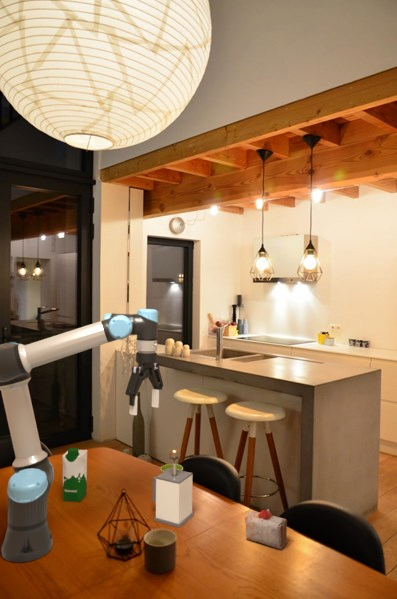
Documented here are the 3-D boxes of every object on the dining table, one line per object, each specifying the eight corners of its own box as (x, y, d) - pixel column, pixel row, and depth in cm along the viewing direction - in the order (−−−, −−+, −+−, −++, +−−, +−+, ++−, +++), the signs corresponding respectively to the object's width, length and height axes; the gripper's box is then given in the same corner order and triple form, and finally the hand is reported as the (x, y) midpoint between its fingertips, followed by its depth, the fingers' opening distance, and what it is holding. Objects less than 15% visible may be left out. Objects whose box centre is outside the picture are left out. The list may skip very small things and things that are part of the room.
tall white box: (179, 527, 159) (179, 482, 159) (145, 518, 166) (145, 475, 166) (193, 515, 169) (193, 472, 168) (161, 506, 175) (161, 465, 175)
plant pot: (180, 494, 186) (180, 472, 186) (157, 492, 188) (158, 471, 188) (184, 484, 195) (184, 464, 195) (163, 483, 197) (163, 463, 197)
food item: (241, 540, 152) (241, 510, 152) (251, 530, 158) (251, 501, 158) (280, 552, 145) (281, 521, 145) (289, 541, 152) (289, 511, 151)
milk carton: (59, 502, 178) (59, 450, 178) (68, 492, 187) (68, 443, 187) (81, 503, 177) (81, 451, 177) (89, 493, 186) (89, 444, 186)
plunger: (177, 510, 162) (178, 453, 162) (160, 505, 165) (161, 450, 165) (187, 502, 168) (187, 447, 168) (171, 498, 171) (171, 444, 171)
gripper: (134, 356, 152) (131, 419, 153) (173, 349, 174) (171, 405, 174) (116, 354, 156) (114, 416, 156) (157, 348, 178) (155, 402, 178)
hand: (144, 410), depth 165 cm, fingers open, 13 cm apart
